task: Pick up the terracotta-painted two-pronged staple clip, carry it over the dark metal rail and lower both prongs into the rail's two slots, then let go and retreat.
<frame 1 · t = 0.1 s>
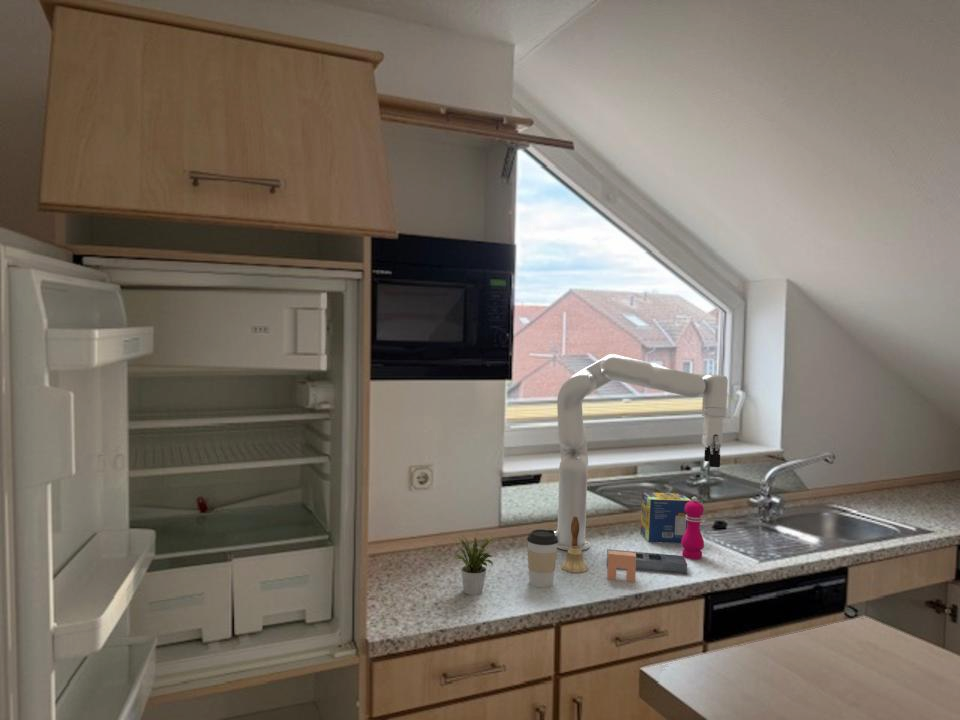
hand: (711, 464, 215), 31 cm above the worktop, tool pointing down, fingers open, 9 cm apart
rail: (645, 566, 206), on the worktop
pepper mill: (692, 556, 217), on the worktop
house plant: (468, 592, 180), on the worktop
clip: (621, 578, 194), on the worktop
hand bell: (574, 568, 202), on the worktop
protein box: (664, 539, 236), on the worktop
coffee cup: (541, 583, 189), on the worktop
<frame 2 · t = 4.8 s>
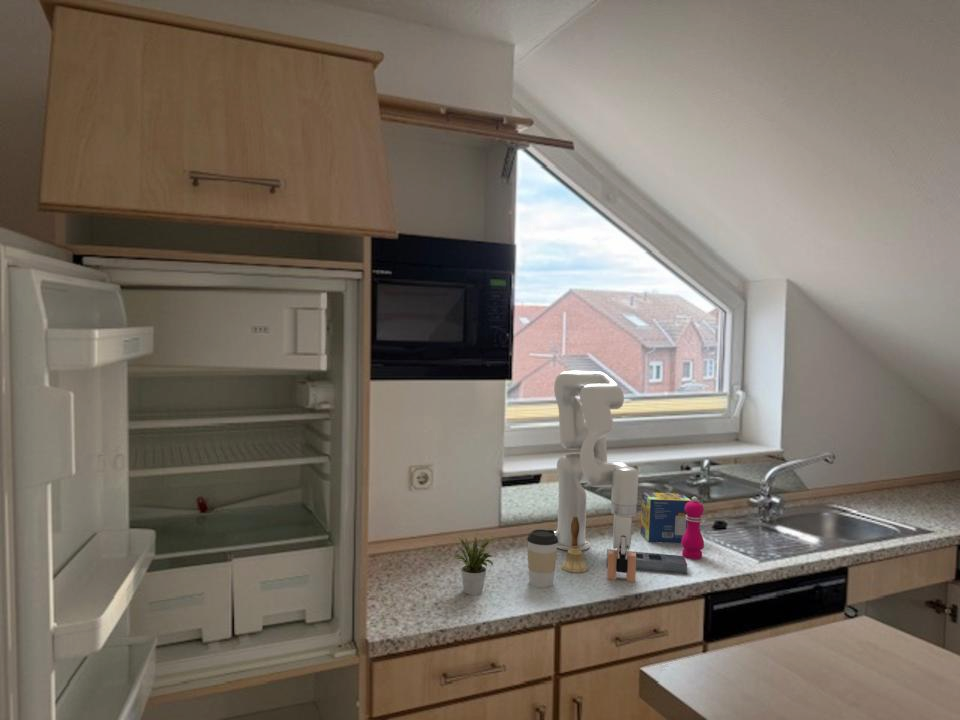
hand: (621, 569, 194), 3 cm above the worktop, tool pointing down, fingers closed on clip, 3 cm apart
clip: (621, 578, 194), on the worktop, touching gripper
everything else where it was.
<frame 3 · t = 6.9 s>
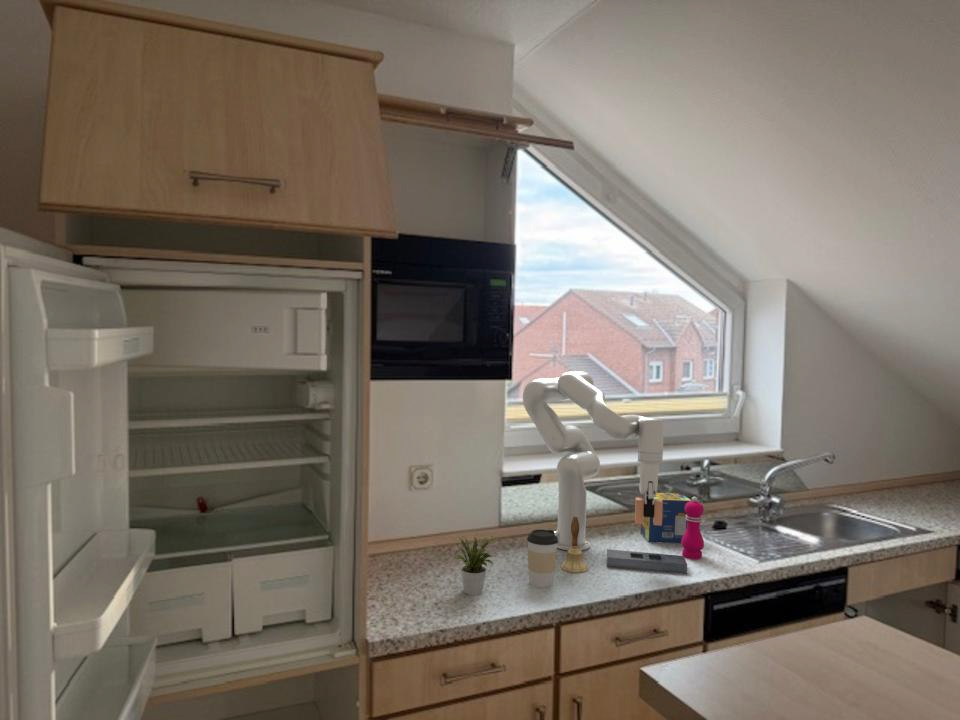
hand: (648, 514, 205), 16 cm above the worktop, tool pointing down, fingers closed on clip, 3 cm apart
clip: (648, 523, 205), point 14 cm above the worktop, touching gripper
everything else where it was.
when the fingers open (4 cm above the worktop, at t = 9.1 s): clip stays where it is, resting in rail.
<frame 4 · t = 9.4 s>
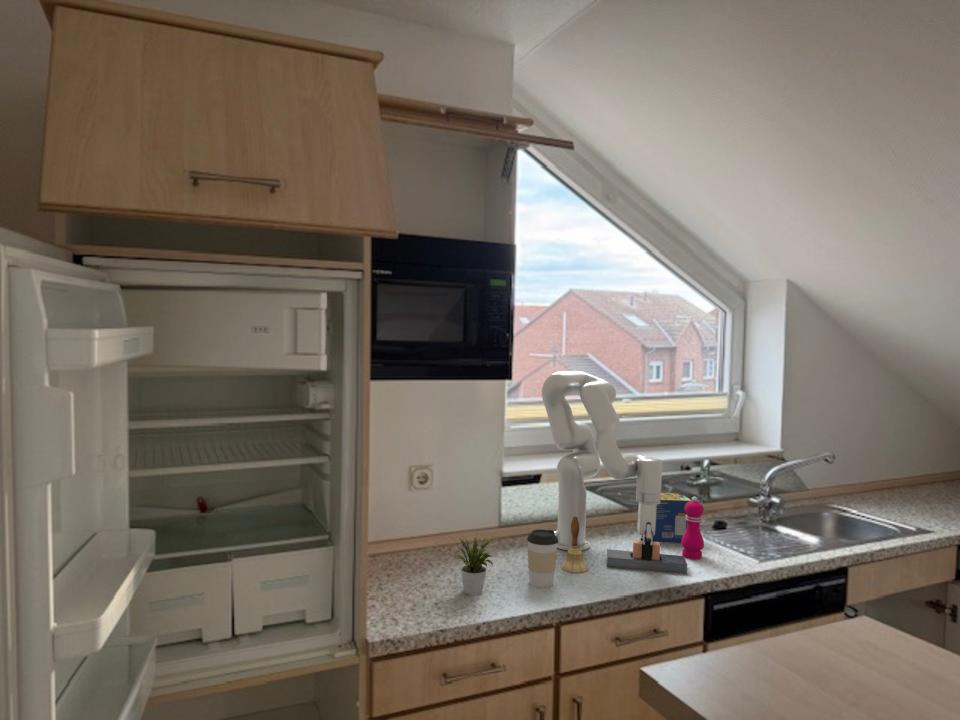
hand: (646, 553, 206), 4 cm above the worktop, tool pointing down, fingers open, 5 cm apart
clip: (645, 566, 206), resting in rail
everything else where it was.
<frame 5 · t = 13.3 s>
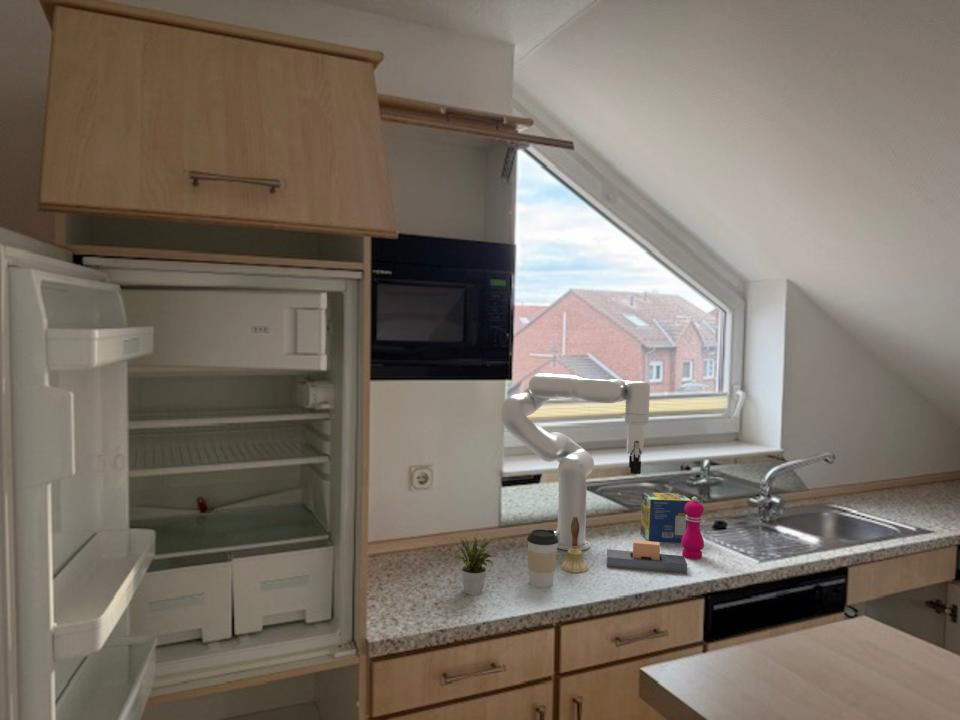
hand: (634, 470, 214), 28 cm above the worktop, tool pointing down, fingers open, 9 cm apart
nothing on the worktop moved.
at the end: clip 0.0 cm off-centre on the rail, point 0.0 cm above the rail's base; clip tilted 0°; the gripper is holding nothing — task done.
